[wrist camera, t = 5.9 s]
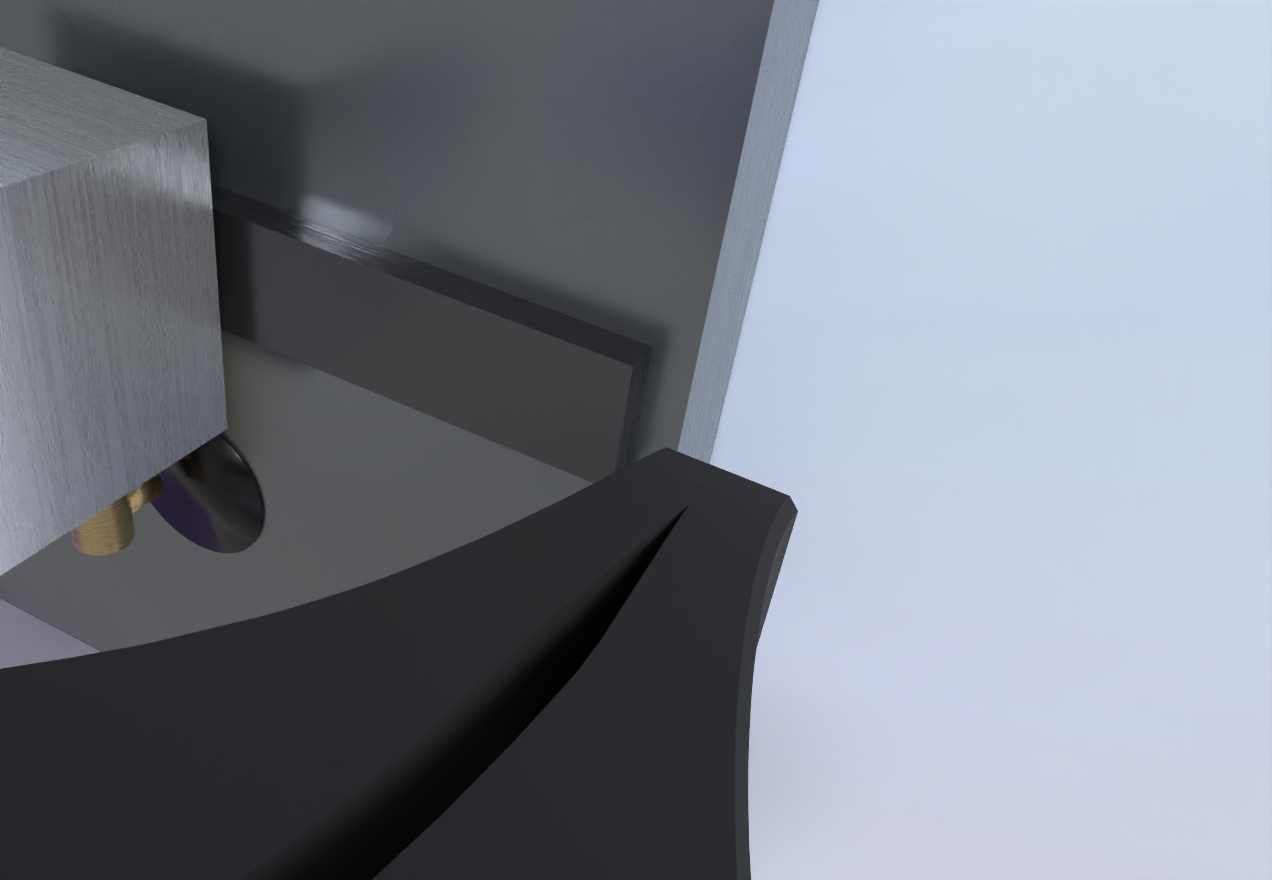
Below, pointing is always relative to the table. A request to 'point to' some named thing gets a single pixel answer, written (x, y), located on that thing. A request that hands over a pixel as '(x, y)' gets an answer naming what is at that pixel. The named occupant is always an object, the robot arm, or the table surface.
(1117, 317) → the table surface
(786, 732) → the table surface
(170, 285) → the sliding block
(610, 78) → the bolt plate
